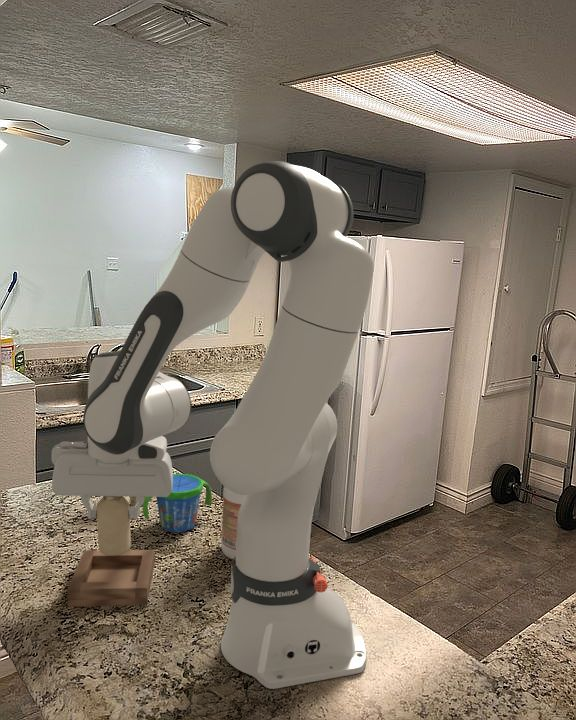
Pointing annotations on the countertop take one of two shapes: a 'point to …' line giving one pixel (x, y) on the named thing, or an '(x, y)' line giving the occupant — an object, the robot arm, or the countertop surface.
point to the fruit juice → (230, 521)
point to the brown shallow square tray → (112, 579)
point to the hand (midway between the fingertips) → (113, 517)
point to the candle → (113, 525)
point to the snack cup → (180, 503)
